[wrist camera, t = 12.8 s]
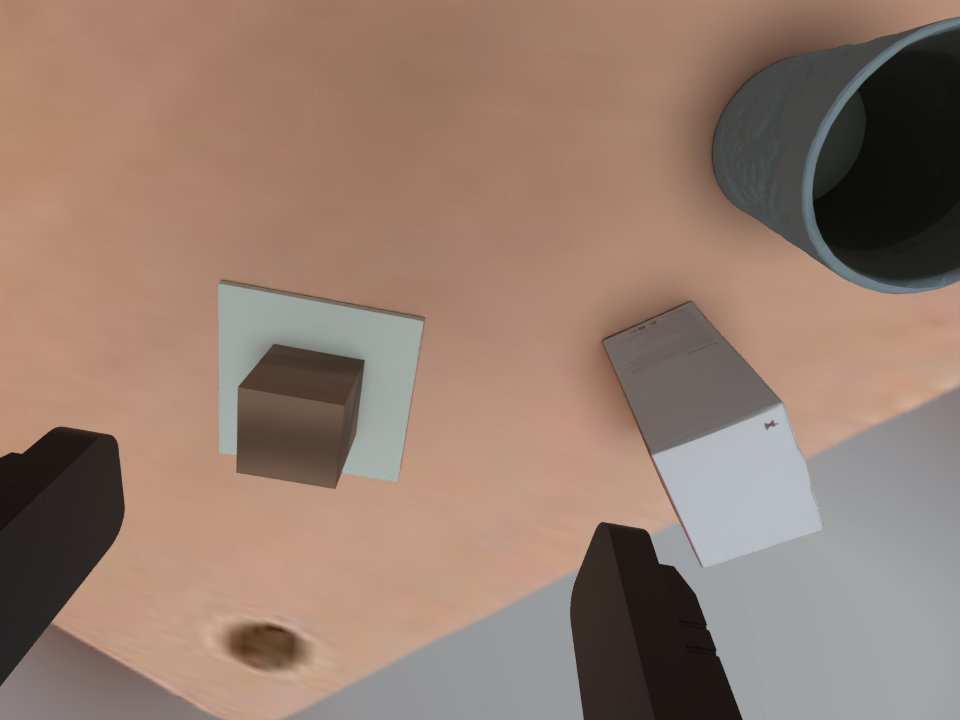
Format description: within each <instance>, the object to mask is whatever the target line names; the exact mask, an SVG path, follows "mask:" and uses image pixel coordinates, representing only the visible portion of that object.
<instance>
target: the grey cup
mask: <svg viewBox="0 0 960 720" xmlns="http://www.w3.org/2000/svg"><path fill="white" fill-rule="evenodd" d="M713 165H714V171H715V175H716V178H717V181H718V184H719V186H720V187H721V189H722V191H723V193H724V194H725V196H726V197H727V198H728V199H729V200H730V201H731V202H732V203H733V204H734V205H735V206H736V207H738V208H739V209H741V210H742V211H744V212H745V213H747V214H749V215H751V216H753V217H754V218H756V219H757V220H759V221H760V222H761V223H763V224H764V225H766V226H767V227H768V228H770V229H771V230H773V231H774V232H776V233H777V234H780V235H781V236H782V237H783V238H785V239H786V240H787V241H789V242H790V243H792V244H793V245H795V246H797V247H798V248H800V249H801V250H803V251H804V252H806V253H807V254H809V255H810V256H811V257H812V258H814V259H815V260H817V261H818V262H820V263H821V264H823V265H824V266H826V267H827V268H829V269H830V270H832V271H833V272H835V273H836V274H837V275H839V276H840V277H842V278H844V279H846V280H848V281H849V282H852V283H854V284H857V285H859V286H861V287H864V288H867V289H870V290H874V291H877V292H881V293H891V294H908V293H919V292H924V291H929V290H934V289H940V288H943V287H945V286H948V285H951V284H954V283H957V282H959V281H960V17H956V18H951V19H946V20H942V21H938V22H935V23H931V24H927V25H924V26H920V27H917V28H914V29H911V30H908V31H905V32H901V33H898V34H893V35H888V36H883V37H880V38H877V39H874V40H872V41H869V42H867V43H862V44H857V45H849V44H848V45H843V46H839V47H837V48H832V49H826V50H821V51H816V52H812V53H808V54H804V55H800V56H796V57H792V58H787V59H785V60H782V61H779V62H777V63H775V64H773V65H771V66H769V67H767V68H765V69H764V70H762V71H761V72H759V73H758V74H756V75H755V76H754V77H753V78H751V79H750V80H749V81H748V82H747V83H746V84H745V85H744V86H743V87H742V88H741V89H740V90H739V91H738V92H737V93H736V95H735V96H734V97H733V99H731V101H730V103H729V104H728V106H727V107H726V108H725V110H724V112H723V114H722V116H721V118H720V121H719V124H718V126H717V129H716V134H715V138H714V144H713Z"/></svg>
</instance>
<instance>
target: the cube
mask: <svg viewBox="0 0 960 720" xmlns="http://www.w3.org/2000/svg"><path fill="white" fill-rule="evenodd" d="M364 364H365V360H361V359H356V358H350V357H345V356H339V355H334V354H328V353H323V352H317V351H312V350H306V349H300V348H295V347H289V346H284V345H278V344H273V345H272V347H271V348H270V349H269V350H268V351H267V353H266V354H265V355H264V356H263V357H262V359H261V360H260V361H259V362H258V363H257V365H256V366H255V367H254V368H253V369H252V371H251V372H250V373H249V374H248V375H247V377H246V378H245V379H244V380H243V381H242V383H241V384H240V385H239V386H238V400H237V472H236V473H242V474H248V475H254V476H260V477H266V478H272V479H279V480H285V481H291V482H297V483H303V484H309V485H315V486H321V487H327V488H333V489H335V488H336V486H337V483H338V480H339V478H340V475H341V473H342V470H343V467H344V465H345V462H346V460H347V457H348V454H349V452H350V449H351V447H352V444H353V441H354V439H355V436H356V430H357V422H358V414H359V405H360V397H361V389H362V380H363V372H364Z"/></svg>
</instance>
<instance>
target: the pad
mask: <svg viewBox="0 0 960 720" xmlns="http://www.w3.org/2000/svg"><path fill="white" fill-rule="evenodd" d="M218 304H219V453H224V454H231V455H237V400H238V386H239V385H240V384H241V383H242V381H243V380H244V379H245V378H246V377H247V375H248V374H249V373H250V372H251V371H252V369H253V368H254V367H255V366H256V365H257V363H258V362H259V361H260V360H261V359H262V357H263V356H264V355H265V354H266V353H267V351H268V350H269V349H270V348H271V347H272V345H273V344H278V345H284V346H289V347H295V348H300V349H306V350H312V351H317V352H323V353H328V354H334V355H339V356H345V357H350V358H356V359H361V360H365V364H364V372H363V380H362V389H361V397H360V405H359V414H358V422H357V430H356V436H355V439H354V441H353V444H352V447H351V449H350V452H349V454H348V457H347V460H346V462H345V465H344V467H343V470H342V473H345V474H351V475H357V476H363V477H370V478H376V479H382V480H388V481H394V482H398V479H399V473H400V467H401V461H402V455H403V448H404V442H405V436H406V430H407V424H408V418H409V411H410V405H411V399H412V393H413V387H414V381H415V374H416V368H417V362H418V356H419V350H420V344H421V338H422V331H423V325H424V319H425V318H423V317H417V316H412V315H407V314H401V313H396V312H390V311H385V310H380V309H374V308H369V307H363V306H358V305H353V304H347V303H342V302H336V301H331V300H326V299H320V298H315V297H309V296H304V295H299V294H293V293H288V292H282V291H277V290H272V289H266V288H261V287H255V286H250V285H245V284H239V283H234V282H228V281H223V280H222V281H221V282H220V283H218Z"/></svg>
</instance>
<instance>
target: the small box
mask: <svg viewBox="0 0 960 720" xmlns="http://www.w3.org/2000/svg"><path fill="white" fill-rule="evenodd" d="M602 343H603V345H604V348H605V350H606V353H607V355H608V358H609V360H610V362H611V364H612V367H613V369H614V371H615V374H616V376H617V378H618V380H619V383H620V385H621V387H622V390H623V392H624V395H625V397H626V399H627V402H628V404H629V406H630V409H631V411H632V414H633V416H634V419H635V421H636V423H637V426H638V428H639V431H640V433H641V435H642V438H643V440H644V443H645V445H646V448H647V450H648V452H649V455H650V457H651V460H652V462H653V464H654V467H655V469H656V471H657V474H658V476H659V478H660V480H661V483H662V485H663V487H664V489H665V491H666V493H667V496H668V498H669V500H670V502H671V504H672V506H673V508H674V510H675V513H676V515H677V517H678V519H679V521H680V523H681V525H682V527H683V529H684V531H685V533H686V536H687V538H688V540H689V541H690V544H691V546H692V549H693V551H694V552H695V555H696V557H697V559H698V561H699V563H700V565H701V567H703V568H706V567H709V566H712V565H715V564H718V563H721V562H724V561H727V560H730V559H733V558H736V557H740V556H742V555H746V554H748V553H751V552H755V551H758V550H761V549H764V548H767V547H770V546H773V545H776V544H779V543H782V542H785V541H789V540H791V539H795V538H798V537H801V536H804V535H807V534H810V533H813V532H816V531H819V530H822V529H823V522H822V518H821V515H820V511H819V508H818V504H817V501H816V498H815V495H814V491H813V488H812V485H811V481H810V477H809V472H808V469H807V466H806V463H805V460H804V457H803V454H802V452H801V450H800V448H799V445H798V443H797V440H796V437H795V434H794V431H793V428H792V425H791V422H790V420H789V417H788V414H787V411H786V408H785V405H784V403H783V402H782V401H781V400H780V398H779V397H778V396H777V395H776V394H775V393H774V392H773V391H772V390H771V388H770V387H769V386H768V385H767V384H766V383H765V382H764V381H763V380H762V378H761V377H760V376H759V375H758V374H757V373H756V372H755V371H754V370H753V368H752V367H751V366H750V365H749V364H748V363H747V362H746V361H745V360H744V359H743V357H742V356H741V355H740V354H739V353H738V352H737V351H736V350H735V349H734V348H733V347H732V346H731V345H730V343H729V342H728V341H727V340H726V339H725V338H724V337H723V336H722V335H721V334H720V333H719V331H718V330H717V329H716V328H715V327H714V326H713V325H712V324H711V322H710V321H709V320H708V319H707V318H706V316H705V315H704V314H703V313H702V312H701V311H700V310H699V309H698V308H697V307H696V305H695V304H694V303H693V302H689V303H687V304H685V305H682V306H680V307H678V308H675V309H673V310H671V311H669V312H666V313H664V314H662V315H660V316H657V317H655V318H653V319H651V320H648V321H646V322H644V323H641V324H639V325H637V326H635V327H632V328H630V329H628V330H626V331H624V332H621V333H619V334H617V335H615V336H612V337H610V338H608V339H605V340H603V342H602Z"/></svg>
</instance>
